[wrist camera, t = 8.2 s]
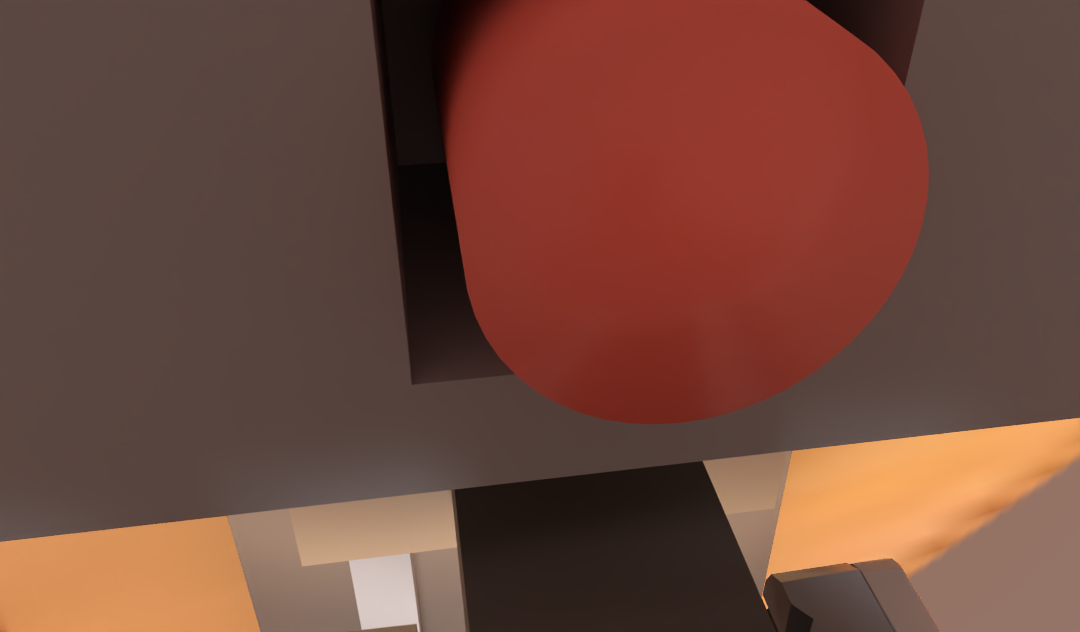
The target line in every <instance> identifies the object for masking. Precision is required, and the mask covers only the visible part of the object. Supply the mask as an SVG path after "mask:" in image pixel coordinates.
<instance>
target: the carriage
mask: <svg viewBox="0 0 1080 632" xmlns="http://www.w3.org/2000/svg"><path fill="white" fill-rule="evenodd" d="M785 455H786V451H785V452H776V453H767V454H759V455H750V456H741V457H733V458H724V459H715V460H707V461H698V462H689V463H680V464H672V465H663V466H654V467H646V468H637V469H628V470H619V471H611V472H602V473H593V474H585V475H576V476H567V477H559V478H550V479H541V480H532V481H524V482H515V483H506V484H498V485H489V486H480V487H471V488H463V489H454V490H445V491H437V492H428V493H419V494H411V495H402V496H393V497H384V498H376V499H367V500H358V501H350V502H341V503H332V504H324V505H315V506H306V507H297V508H289V512H290V517H291V521H292V525H293V530H294V534H295V538H296V543H297V547H298V551H299V556H300V560H301V564H302V566H310V565H318V564H326V563H335V562H343V561H351V560H359V559H367V558H375V557H383V556H392V555H400V554H408V553H416V552H424V551H432V550H440V549H449V548H457V551H458V561H459V570H460V580H461V590H462V599H463V609H464V619H465V628H466V632H776V631H775V628H774V626H773V624H772V621H771V619H770V617H769V614H768V612H767V610H766V607H765V605H764V603H763V600H762V598H761V596H760V593H759V591H758V589H757V586H756V584H755V582H754V579H753V577H752V575H751V572H750V570H749V568H748V565H747V563H746V561H745V558H744V556H743V554H742V551H741V549H740V547H739V544H738V542H737V540H736V537H735V535H734V533H733V531H732V528H731V526H730V524H729V521H728V519H727V517H726V514H734V513H742V512H750V511H758V510H766V509H774V508H775V504H776V499H777V494H778V489H779V485H780V480H781V475H782V470H783V465H784V460H785Z"/></svg>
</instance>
